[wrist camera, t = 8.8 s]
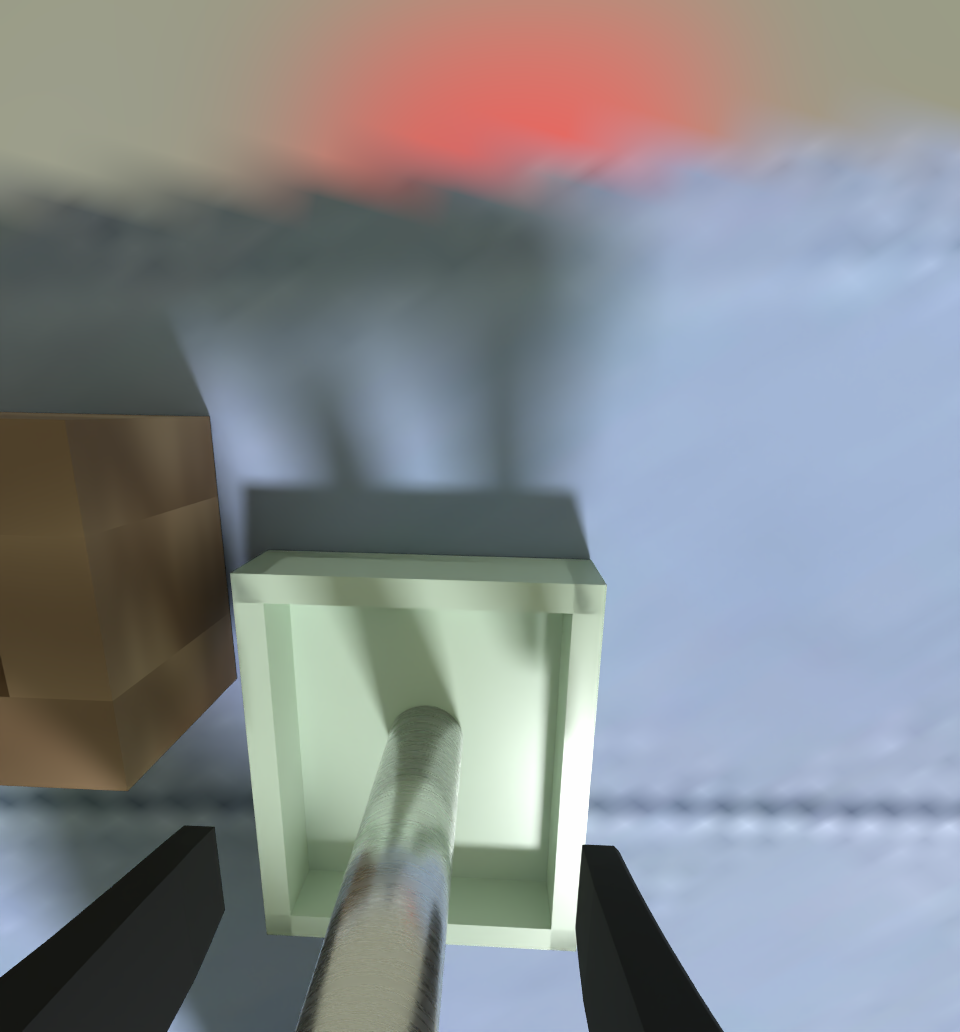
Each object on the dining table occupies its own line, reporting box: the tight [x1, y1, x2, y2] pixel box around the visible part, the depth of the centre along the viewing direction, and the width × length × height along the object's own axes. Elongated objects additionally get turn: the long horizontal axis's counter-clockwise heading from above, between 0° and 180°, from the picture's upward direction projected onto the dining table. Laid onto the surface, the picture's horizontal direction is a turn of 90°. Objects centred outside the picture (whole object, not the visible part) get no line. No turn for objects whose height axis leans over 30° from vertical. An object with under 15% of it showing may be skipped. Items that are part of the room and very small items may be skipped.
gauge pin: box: [295, 705, 463, 1032], centre depth 9 cm, size 2×2×8 cm
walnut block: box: [0, 412, 237, 791], centre depth 11 cm, size 7×7×4 cm
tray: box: [230, 550, 607, 951], centre depth 12 cm, size 10×8×2 cm
